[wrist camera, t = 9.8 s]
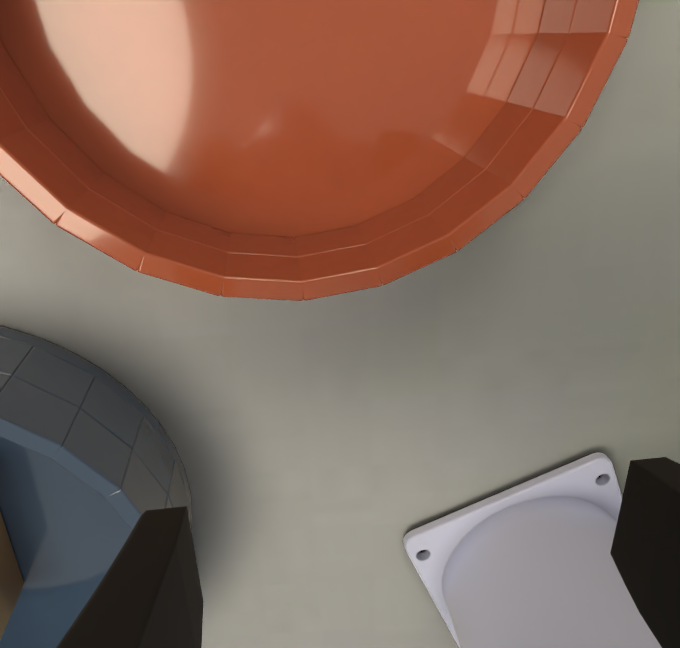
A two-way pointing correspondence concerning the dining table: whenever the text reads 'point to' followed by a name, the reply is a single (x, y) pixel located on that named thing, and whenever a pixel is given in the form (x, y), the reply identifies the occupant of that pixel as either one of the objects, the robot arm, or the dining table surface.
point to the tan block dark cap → (8, 578)
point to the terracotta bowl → (293, 128)
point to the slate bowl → (72, 479)
